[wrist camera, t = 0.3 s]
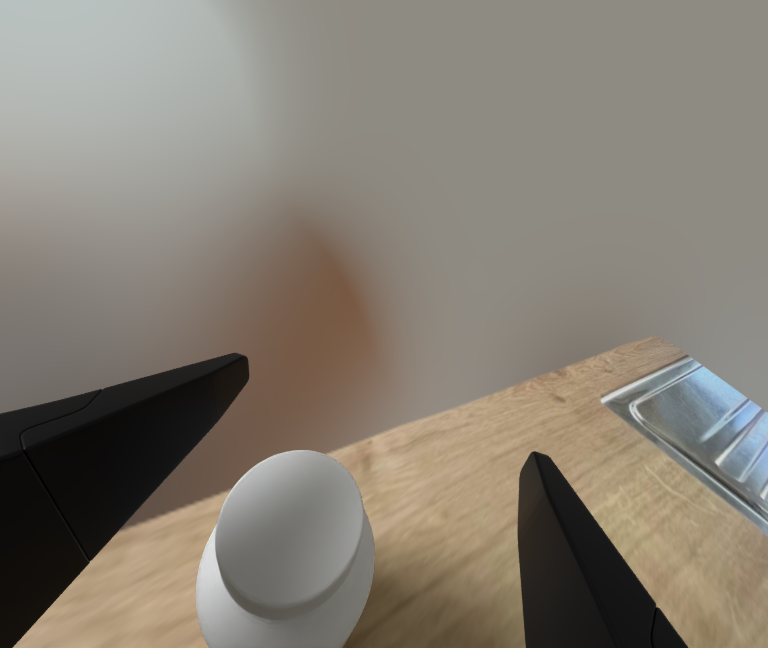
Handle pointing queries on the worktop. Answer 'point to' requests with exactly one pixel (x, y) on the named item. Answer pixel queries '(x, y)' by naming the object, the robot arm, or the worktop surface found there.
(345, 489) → the supplement bottle
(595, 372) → the worktop surface
